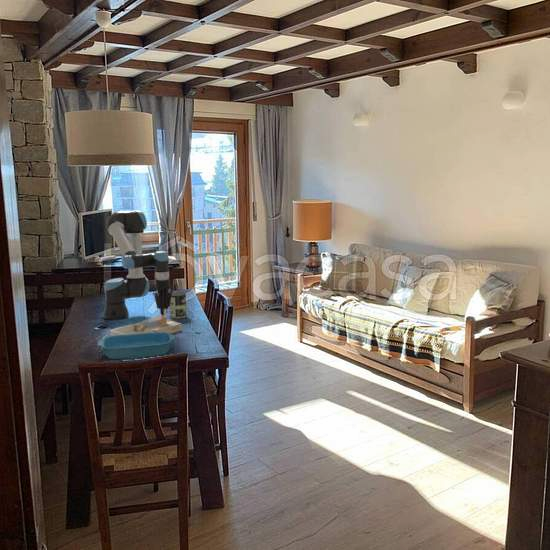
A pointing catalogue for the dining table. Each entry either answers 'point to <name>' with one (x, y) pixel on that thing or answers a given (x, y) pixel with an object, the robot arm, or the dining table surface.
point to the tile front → (150, 323)
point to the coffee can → (178, 305)
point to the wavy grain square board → (159, 327)
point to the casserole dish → (136, 345)
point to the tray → (126, 330)
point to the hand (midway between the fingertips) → (164, 319)
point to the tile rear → (161, 320)
